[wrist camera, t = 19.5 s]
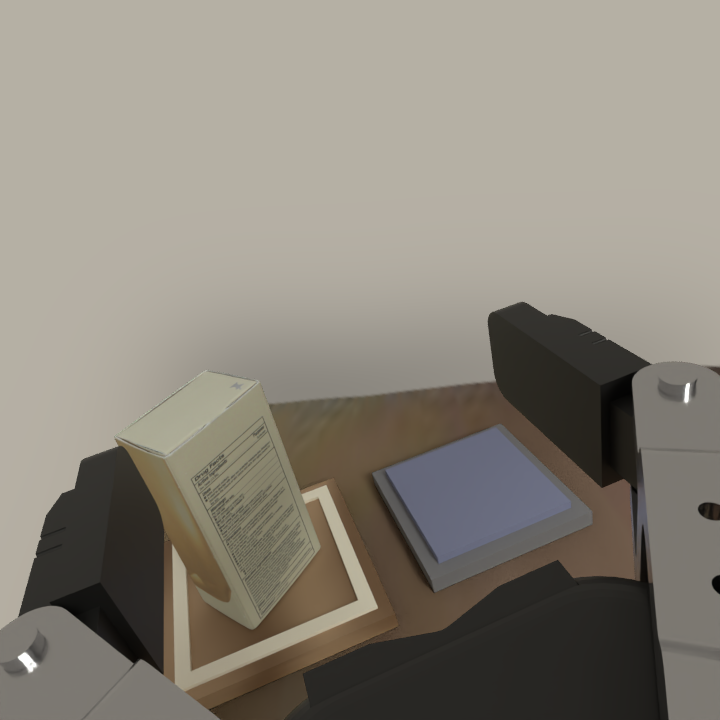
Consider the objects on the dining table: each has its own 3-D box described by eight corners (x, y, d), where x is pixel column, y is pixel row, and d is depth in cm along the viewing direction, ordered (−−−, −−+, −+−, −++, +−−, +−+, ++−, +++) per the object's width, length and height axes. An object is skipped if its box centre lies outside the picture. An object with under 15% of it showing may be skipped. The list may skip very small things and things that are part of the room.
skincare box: (272, 527, 36) (209, 364, 30) (324, 549, 34) (266, 375, 28) (197, 606, 32) (107, 434, 26) (250, 638, 29) (163, 455, 24)
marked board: (337, 488, 40) (333, 475, 39) (398, 625, 29) (394, 611, 29) (168, 553, 38) (161, 540, 37) (170, 726, 27) (160, 712, 27)
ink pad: (502, 434, 41) (500, 417, 40) (592, 524, 32) (592, 504, 32) (374, 483, 39) (370, 467, 39) (434, 592, 31) (430, 573, 30)
